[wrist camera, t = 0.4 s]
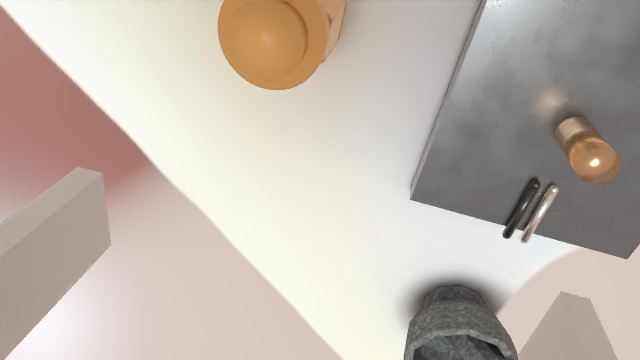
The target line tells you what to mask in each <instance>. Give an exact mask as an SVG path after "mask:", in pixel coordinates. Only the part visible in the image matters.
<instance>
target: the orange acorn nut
mask: <svg viewBox="0 0 640 360" xmlns="http://www.w3.org/2000/svg"><path fill="white" fill-rule="evenodd" d="M345 7H346V2H345V0H225V1H224V2H223V5H222V7H221V10H220V14H219V19H218V35H219V41H220V45H221V48H222V50H223V53H224V55H225V57H226V59H227V60H228V62H229V64H230V65H231V66H232V67H233V69H234V70H235V71H236V72H237V73H238V74H239V75H240V76H241V77H243V78H244V79H245V80H247V81H248V82H250V83H252V84H254V85H256V86H258V87H261V88H265V89H270V90H284V89H289V88H292V87H295V86H297V85H299V84H301V83H303V82H304V81H306V80H307V79H308V78H309V77H310V76H311V75H312V74H313V73H314V71H315V70H316V69H317V67H318V66H319V65H320V64H321V63H323V62H324V61H325V60H326V58H327V56H328V55H329V53H330V52H331V50H332V49H333V47H334V45H335V44H336V42H337V41H338V39H339V34H340V30H341V25H342V21H343V16H344V11H345Z"/></svg>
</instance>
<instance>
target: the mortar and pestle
mask: <svg viewBox="0 0 640 360" xmlns="http://www.w3.org/2000/svg"><path fill="white" fill-rule="evenodd" d="M404 360H518V355H517V351H516V349H515V346H514V344H513V342H512V340H511V337H510V336H509V334H508V333H507V331H506V330H505V329H504V327H503V326H502V324H501V323H500V321H499V320H498V318H497V317H496V316H495V315H494V314H493V313H492V312H491V311H490V310H489V309H488V308H487V307H486V304H485V302H484V301H483V299H482V298H481V297H480V295H479V294H478V292H476V291H474V290H471V289H468V288H466V287H463V286H460V285H452V286H441V287H437V288H436V289H435V290H433V291H432V292H430V293H429V294H428V295H426V296H425V298H424V304H423V310H421V311H420V312H419V313H417V314H416V315H415V317H414V318H413V319H412V320H411V322H410V324H409V329H408V333H407V339H406V346H405V352H404Z"/></svg>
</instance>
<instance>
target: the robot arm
mask: <svg viewBox="0 0 640 360" xmlns="http://www.w3.org/2000/svg"><path fill="white" fill-rule="evenodd" d="M110 246H111V240H110V232H109V223H108V215H107V206H106V198H105V190H104V181H103V174H102V173H99V172H95V171H92V170H87V169H83V168H80V167H77V168H76V169H74V170H73V171H72V172H70V173H69V174H68V175H66V176H65V177H64V178H62V179H61V180H60V181H58V182H57V183H55V184H54V185H53V186H51V187H50V188H49V189H47V190H46V191H45V192H43V193H42V194H40V195H39V196H38V197H37V198H35V199H34V200H32V201H31V202H30V203H28V204H27V205H25V206H24V207H23V208H21V209H20V210H19V211H17V212H16V213H15V214H13V215H12V216H10V217H9V218H8V219H6V220H5V221H4V222H3V223H1V224H0V360H4V359H5V358H6V357H7V356H8V355H9V354H10V353H11V352H12V350H13V349H14V348H15V347H16V346H17V345H18V344H19V343H20V342H21V341H22V340H23V339H24V338H25V337H26V335H27V334H28V333H29V332H30V331H31V330H32V329H33V328H34V327H35V326H36V325H37V324H38V323H39V322H40V321H41V319H42V318H43V317H44V316H45V315H46V314H47V313H48V312H49V311H50V310H51V309H52V308H53V307H54V306H55V304H56V303H57V302H58V301H59V300H60V299H61V298H62V297H63V296H64V295H65V294H66V293H67V291H69V289H70V288H71V287H72V286H73V285H74V284H75V283H76V282H77V281H78V280H79V279H80V278H81V277H82V276H83V274H84V273H85V272H86V271H87V270H88V269H89V268H90V267H91V266H92V265H93V264H94V263H95V262H96V261H97V259H98V258H99V257H100V256H101V255H102V254H103V253H104V252H105V251H106V250H107V249H108V248H109V247H110ZM518 355H519V360H618V359H617V357H616V355H615V353H614V351H613V348H612V346H611V344H610V342H609V340H608V337H607V335H606V333H605V331H604V329H603V326H602V324H601V322H600V320H599V318H598V316H597V313H596V311H595V309H594V307H593V305H592V303H591V300H590V299H588V298H584V297H580V296H577V295H573V294H569V293H565V292H560V294H559V295H558V297H557V298H556V300H555V301H554V302H553V304H552V306H551V307H550V309H549V310H548V311H547V313H546V314H545V316H544V317H543V319H542V320H541V322H540V323H539V325H538V326H537V328H536V329H535V331H534V332H533V334H532V335H531V337H530V338H529V340H528V341H527V342H526V344H525V345H524V347H523V348H522V350H521V351H520V353H519V354H518Z"/></svg>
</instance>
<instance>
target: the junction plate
mask: <svg viewBox="0 0 640 360" xmlns="http://www.w3.org/2000/svg"><path fill="white" fill-rule="evenodd" d="M410 200H413V201H417V202H420V203H424V204H428V205H431V206H435V207H439V208H442V209H446V210H450V211H453V212H457V213H461V214H464V215H468V216H471V217H475V218H479V219H482V220H486V221H490V222H493V223H497V224H501V225H504V226H506V228H505V229H504V231H503V234H502V235H503V237H504V238H506V239H509V238H510V237H511V236H512V234H513V233H514V231H515V229H519V230H522V231H523V232H522V234H521V236H520V237H519V240H520V242H521V243H527V242H528V241H529V239H530V237H531V236H532V234H537V235H541V236H544V237H548V238H552V239H555V240H559V241H563V242H566V243H570V244H573V245H577V246H581V247H584V248H588V249H592V250H596V251H599V252H603V253H606V254H610V255H614V256H617V257H621V258H624V259H628V258H629V257H630V255H631V254H632V253H633V252H634V250H635V249H636V248H637V247H638V245H639V244H640V0H482V1H481V3H480V6H479V8H478V11H477V14H476V16H475V19H474V22H473V24H472V27H471V29H470V32H469V35H468V37H467V40H466V43H465V45H464V48H463V50H462V53H461V56H460V58H459V61H458V64H457V66H456V69H455V71H454V74H453V77H452V79H451V82H450V85H449V87H448V90H447V92H446V95H445V98H444V100H443V103H442V106H441V108H440V111H439V113H438V116H437V119H436V121H435V124H434V127H433V129H432V132H431V134H430V137H429V140H428V142H427V145H426V148H425V150H424V153H423V155H422V158H421V161H420V163H419V166H418V169H417V171H416V174H415V176H414V179H413V182H412V184H411V187H410Z"/></svg>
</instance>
